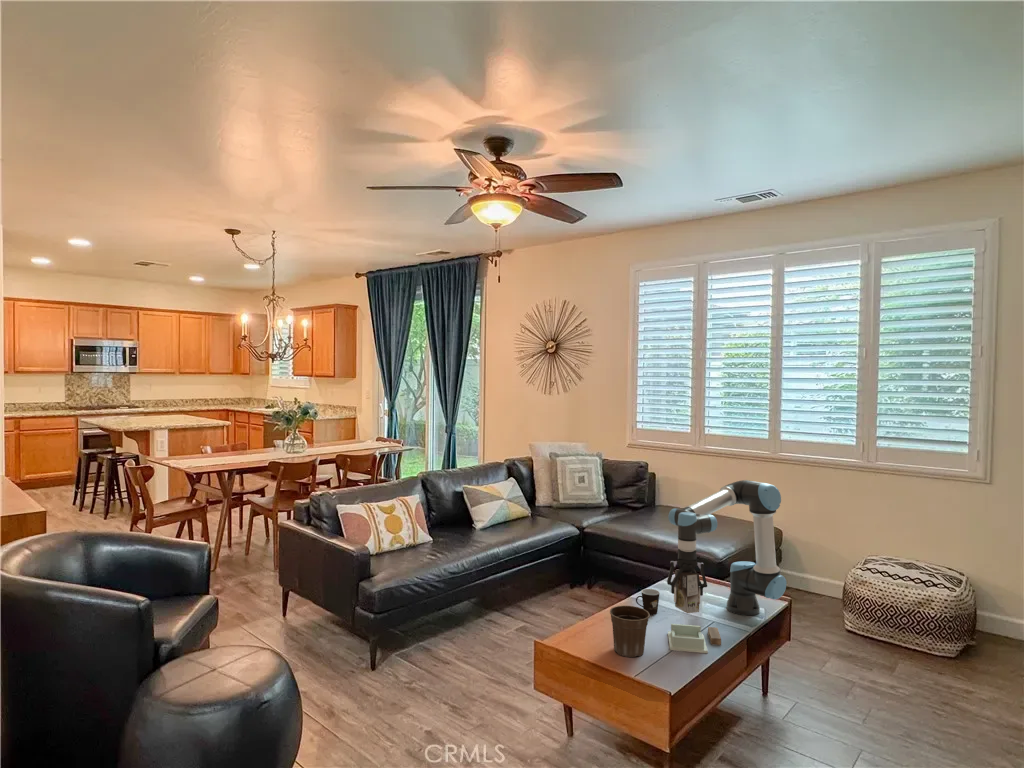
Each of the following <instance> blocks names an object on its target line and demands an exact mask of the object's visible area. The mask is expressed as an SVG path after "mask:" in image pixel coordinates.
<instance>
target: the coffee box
mask: <svg viewBox="0 0 1024 768" xmlns="http://www.w3.org/2000/svg"><path fill="white" fill-rule="evenodd" d="M677 572H678V569H674V576H675V575H676V574H677ZM699 579H700V573H698V572H696V573H692V571H691V572H688V571H686V572H682V573H680V577H679V578H678V580H677V582H676V584H675V585H676V602H674V607H675V608H677V609H679V610H681V611H682V612H684V613H686V614H695V613H699V612H700V604H699V587H700V586H699Z"/></svg>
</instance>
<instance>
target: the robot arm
mask: <svg viewBox="0 0 1024 768" xmlns="http://www.w3.org/2000/svg"><path fill="white" fill-rule="evenodd" d="M781 502H782V496H781V492H780V490H779V489H778V488H777V487H776V486H775V485H774V484H770V483H768V482H761V481H753V480H748V479H743V480H737V481H734V482H731V483H729V484H726V485H723V486H722V487H721V488H719V491H716V492H714V493H712V494H711V495H708V496H706V497H704V498H702V499H700V500H698V501H695V502H694V503H692V504H690V505H687V506H685V507H683V508H672V509H670V510H669V513H668V521H669V523H670V524H671V525H674V526H676V527H677V548H678V550H677V560H675V561H674V560H670V563H669V564H670V568H669V572H668V576H667V580H666V583H667V585H668V586H670V589H671V590H670V591H671V595H673V601H674V603H675V602H676V585H675V584H676V582H677V580H678V578H679V577H680V573H682V572H686V571H688V572H691V571H692V573H697V572H696V570H695V568H696V567H697V566H698V568H699V570H700V575H701V578H702V581H701V580H700V578H699V605H700V604H701V596H704V588H707V587H708V582H707V578H706V574H705V569H704V568H705V565H704V562H697V551H696V550H697V535H700V534H706V533H711V532H714V531H716V530H717V529H718V520H717V517H716V516H714V515H713V513H715V512H717V511H719V510H721V509H724V508H726V507H727V506H729V507H732V506H734V505H745V506H748V511H749V513H750V514H751V515H752V516H753V518H752V519H753V531H754V532H753V533H754V547H755V551H754V552H755V562H754V561H740V560H739V561H735V562H732V563H731V564H730V568H729V569H730V571H729V576H730V577H729V579H730V580H729V582H730V585H729V586H730V588H729V590H730V591H729V596H728V598H727V601H726V609H727V611H729V612H731V613H734V614H737V615H742V616H756V615H758V614H759V613H760V611H761V610H760V604H759V602H758V601H759V600H758V598H757V595H759V596H761V597H765V598H766V599H770V600H778V599H780V598H781V597H783V595H784V594H785V591H786V588H787V579H786V577H785V576H784V575H782V574H781V568H780V567H779V565H777V560H776V557H777V556H776V543H775V529H774V527H775V526H774V525H775V524H774V515H775V514H776V513H777V510H778V509H779V508H780V506H781V505H780V504H781ZM676 566H678V569H677V570H678V572H677V574H676V575H675V574H674V577H673V573H674V572H675V568H676ZM672 578H673V579H672ZM702 582H703V583H702Z"/></svg>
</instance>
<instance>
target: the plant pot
mask: <svg viewBox="0 0 1024 768" xmlns="http://www.w3.org/2000/svg"><path fill="white" fill-rule="evenodd" d="M609 614H610V619H611V623H612V637H613V650H614V652H615V653H617V655H619V656H622V657H627V658H636V657H637V656H638V657H641V656H642V655H643V654H644V653H645V643H646V642H645V641H646V636H647V628H648V627H647V626H648V623H649V618H650V616H651V615H650V614H649V612H648V611H646V610H645V609H643V607H640V606H639V607H638V606H634V605H617V606H613V607H611V608H610V610H609Z"/></svg>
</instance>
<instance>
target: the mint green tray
mask: <svg viewBox="0 0 1024 768" xmlns="http://www.w3.org/2000/svg"><path fill="white" fill-rule="evenodd" d="M701 630H702V627H701V625H694V624H692V625H691V624H679V623H670V631H667V638H668V645H669V650H670V651H678V652H690V653H701V654H708V653H709V650H708V647H707V643H706V639H705V635H704V634H703V633H702V632H701Z"/></svg>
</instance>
